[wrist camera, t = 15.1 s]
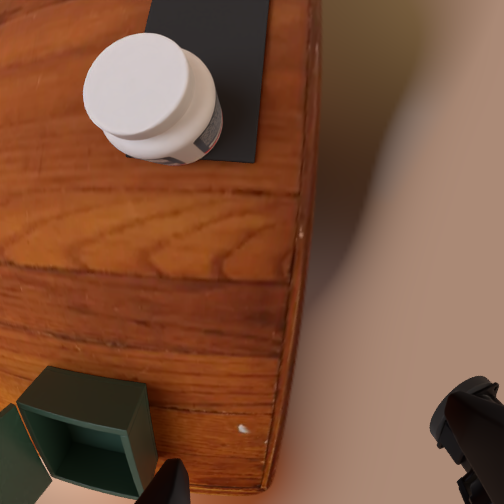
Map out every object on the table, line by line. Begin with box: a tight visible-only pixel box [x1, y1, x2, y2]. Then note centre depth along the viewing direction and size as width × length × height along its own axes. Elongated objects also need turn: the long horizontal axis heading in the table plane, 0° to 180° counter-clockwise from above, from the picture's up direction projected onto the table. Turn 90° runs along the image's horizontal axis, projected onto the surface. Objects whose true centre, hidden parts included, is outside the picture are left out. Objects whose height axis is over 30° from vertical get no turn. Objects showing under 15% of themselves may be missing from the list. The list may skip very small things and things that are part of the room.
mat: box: [126, 0, 269, 163], centre depth 17 cm, size 16×8×1 cm, turn 175°
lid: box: [0, 403, 52, 504], centre depth 12 cm, size 10×9×1 cm
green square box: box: [16, 366, 158, 500], centre depth 20 cm, size 9×9×6 cm
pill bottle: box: [83, 33, 223, 166], centre depth 13 cm, size 5×5×9 cm
